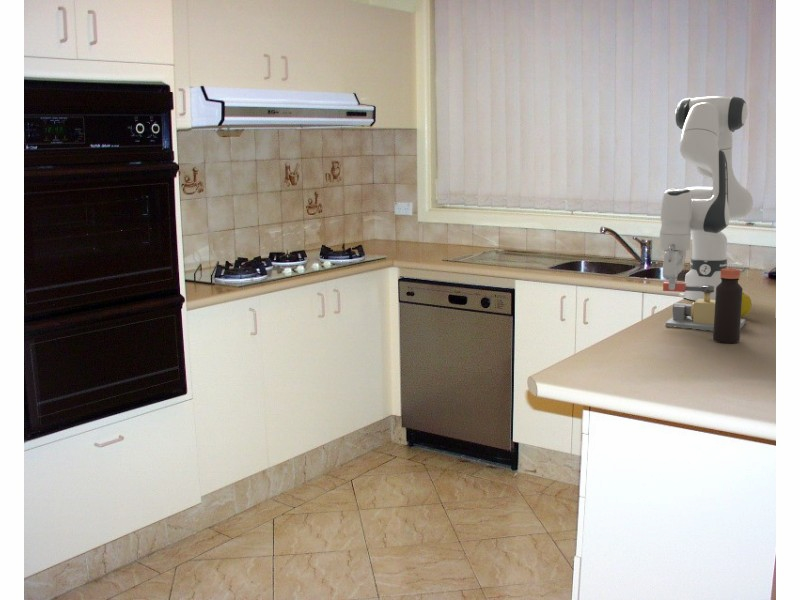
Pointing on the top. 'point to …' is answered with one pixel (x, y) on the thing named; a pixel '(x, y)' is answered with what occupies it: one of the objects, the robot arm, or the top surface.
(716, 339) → the bottle
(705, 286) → the lever
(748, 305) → the lemon
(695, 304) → the valve assembly
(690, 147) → the robot arm
